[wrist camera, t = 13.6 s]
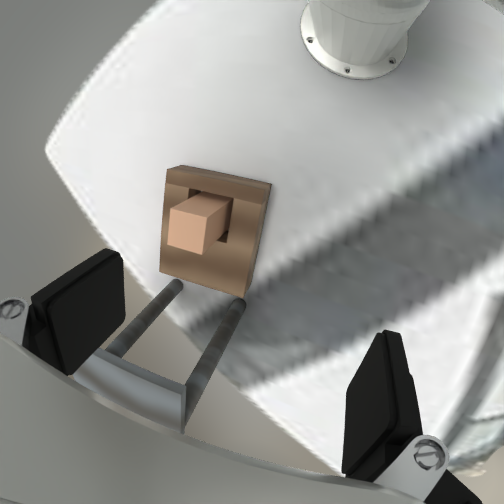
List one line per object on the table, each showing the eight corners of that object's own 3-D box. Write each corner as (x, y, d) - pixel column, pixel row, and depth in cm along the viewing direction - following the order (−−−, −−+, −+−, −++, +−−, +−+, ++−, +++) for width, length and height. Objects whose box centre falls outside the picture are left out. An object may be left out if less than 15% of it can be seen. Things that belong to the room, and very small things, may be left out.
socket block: (181, 165, 38) (43, 213, 18) (271, 183, 37) (190, 259, 16) (170, 291, 47) (78, 391, 26) (244, 314, 45) (180, 442, 24)
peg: (207, 189, 39) (170, 208, 30) (236, 195, 38) (206, 217, 29) (203, 218, 41) (167, 244, 32) (231, 225, 40) (202, 254, 31)
